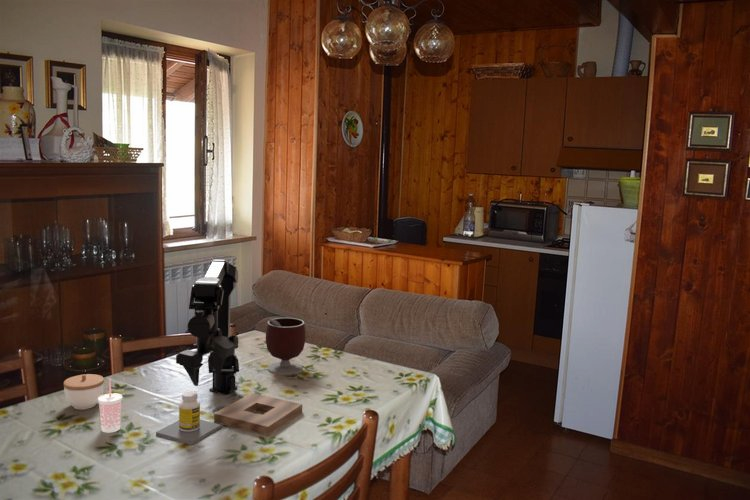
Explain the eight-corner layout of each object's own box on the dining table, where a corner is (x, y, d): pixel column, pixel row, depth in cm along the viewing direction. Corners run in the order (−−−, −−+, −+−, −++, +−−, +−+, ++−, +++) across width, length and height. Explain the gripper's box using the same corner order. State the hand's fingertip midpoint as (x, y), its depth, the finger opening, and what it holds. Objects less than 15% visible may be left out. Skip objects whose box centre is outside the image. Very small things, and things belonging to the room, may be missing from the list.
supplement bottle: (194, 433, 166) (194, 398, 165) (175, 431, 167) (175, 396, 166) (203, 425, 172) (203, 391, 170) (185, 422, 173) (185, 389, 171)
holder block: (214, 421, 176) (214, 413, 176) (251, 400, 192) (251, 392, 192) (267, 435, 169) (267, 426, 168) (302, 412, 185) (302, 404, 185)
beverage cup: (128, 426, 171) (127, 377, 169) (111, 435, 165) (110, 384, 163) (110, 422, 173) (109, 374, 171) (93, 431, 167) (92, 381, 165)
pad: (156, 434, 167) (155, 432, 166) (186, 418, 177) (186, 416, 177) (191, 444, 162) (191, 441, 162) (221, 427, 173) (221, 424, 172)
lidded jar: (58, 404, 184) (57, 374, 182) (95, 395, 191) (94, 366, 190) (73, 415, 176) (72, 384, 175) (110, 406, 184) (110, 375, 183)
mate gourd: (284, 360, 232) (285, 307, 229) (312, 368, 224) (314, 314, 221) (253, 370, 219) (254, 315, 216) (282, 379, 211) (283, 322, 208)
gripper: (207, 339, 160) (208, 397, 162) (251, 322, 176) (251, 375, 179) (174, 332, 164) (174, 389, 167) (220, 316, 181) (220, 368, 184)
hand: (207, 380), depth 174 cm, fingers open, 9 cm apart
